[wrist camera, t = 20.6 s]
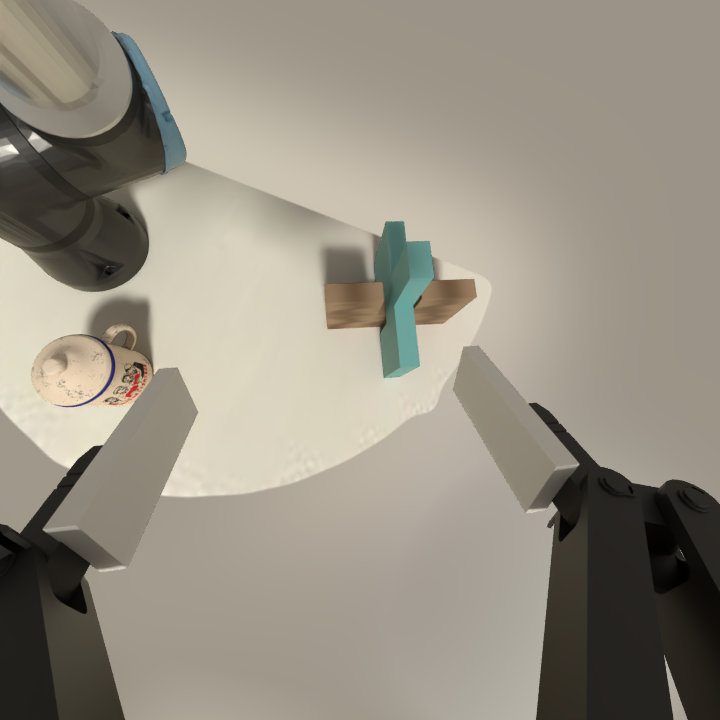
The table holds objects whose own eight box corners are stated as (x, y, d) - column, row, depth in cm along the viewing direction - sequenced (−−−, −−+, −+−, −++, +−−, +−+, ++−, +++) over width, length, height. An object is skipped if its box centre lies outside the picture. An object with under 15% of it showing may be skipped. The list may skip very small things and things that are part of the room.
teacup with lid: (134, 417, 43) (62, 420, 32) (79, 392, 43) (-14, 386, 32) (176, 346, 45) (123, 325, 34) (124, 322, 45) (53, 293, 34)
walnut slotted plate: (327, 329, 48) (325, 302, 36) (326, 314, 48) (324, 284, 37) (443, 323, 50) (476, 296, 38) (441, 309, 50) (474, 279, 39)
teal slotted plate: (398, 377, 48) (443, 353, 28) (383, 378, 47) (418, 355, 28) (387, 265, 51) (421, 174, 31) (373, 265, 51) (398, 173, 31)
